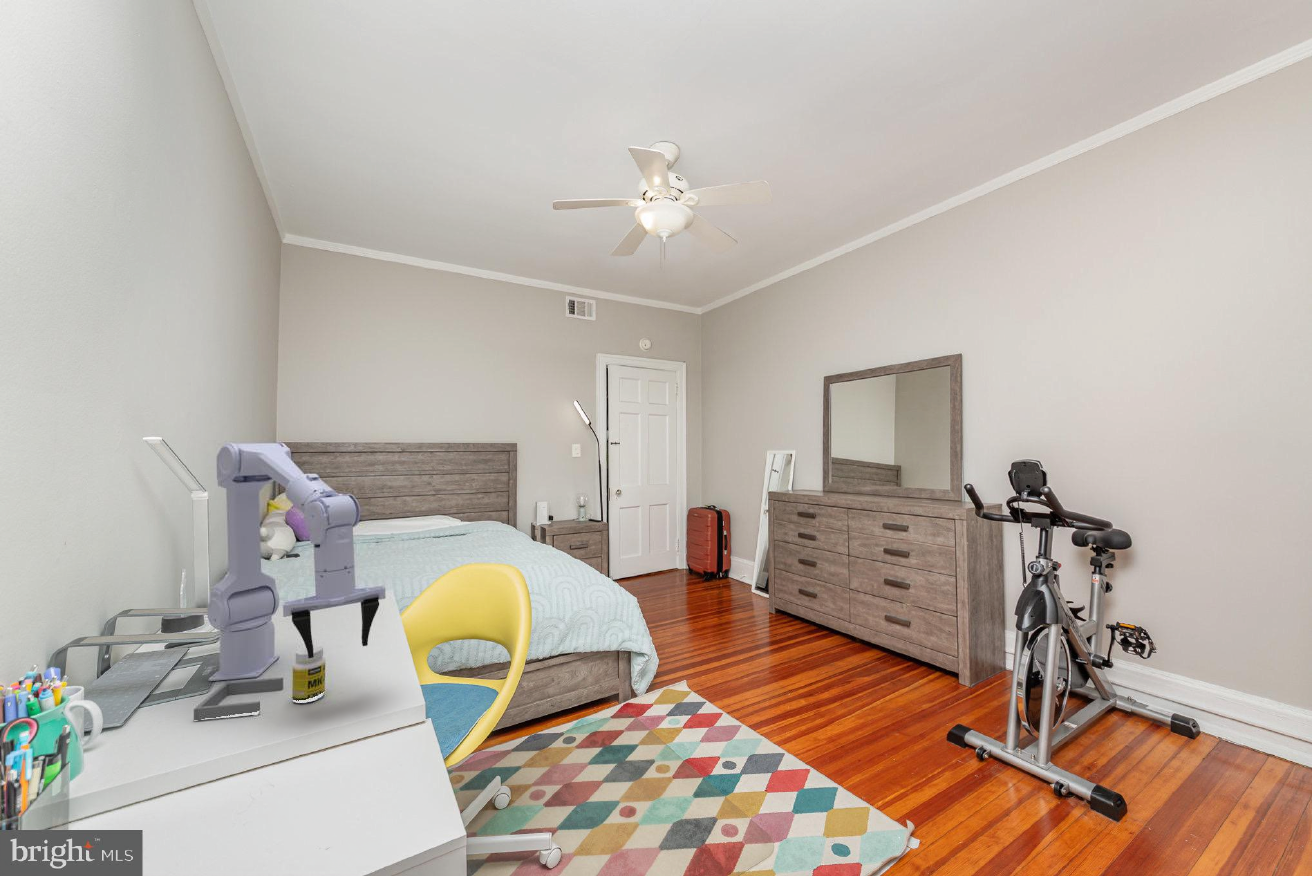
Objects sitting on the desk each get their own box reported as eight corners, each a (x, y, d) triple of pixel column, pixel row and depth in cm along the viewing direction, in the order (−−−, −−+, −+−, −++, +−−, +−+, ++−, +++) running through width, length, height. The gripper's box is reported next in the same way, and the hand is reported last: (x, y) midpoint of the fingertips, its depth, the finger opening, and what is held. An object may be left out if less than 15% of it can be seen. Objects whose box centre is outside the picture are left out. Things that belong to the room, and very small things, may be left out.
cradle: (225, 693, 93) (225, 682, 93) (283, 688, 95) (283, 677, 95) (193, 721, 84) (193, 709, 84) (258, 715, 86) (258, 703, 86)
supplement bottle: (308, 706, 89) (309, 656, 89) (285, 703, 90) (285, 653, 90) (331, 692, 94) (331, 645, 94) (308, 689, 95) (309, 643, 95)
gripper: (280, 580, 81) (284, 669, 81) (386, 564, 89) (389, 645, 89) (282, 573, 87) (286, 656, 87) (381, 558, 95) (384, 634, 95)
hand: (338, 650), depth 88 cm, fingers open, 7 cm apart
